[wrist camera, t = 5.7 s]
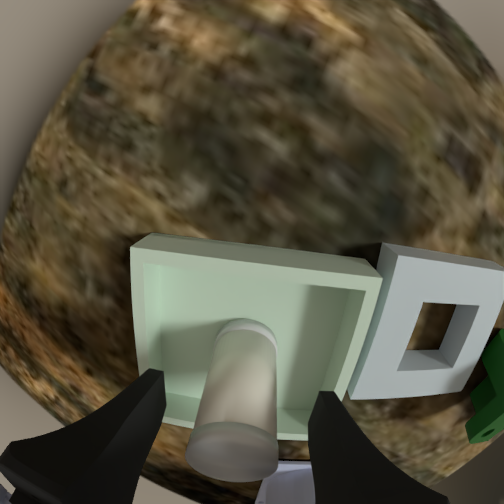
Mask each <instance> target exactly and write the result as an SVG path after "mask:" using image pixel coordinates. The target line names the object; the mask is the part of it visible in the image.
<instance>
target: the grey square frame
mask: <svg viewBox="0 0 504 504" xmlns="http://www.w3.org/2000/svg"><path fill="white" fill-rule="evenodd" d="M376 271H377V272H378V273H379V274H380V275H381V277H382V278H383V280H382V284H381V287H380V291H379V295H378V298H377V302H376V305H375V309H374V312H373V315H372V318H371V322H370V325H369V328H368V331H367V334H366V337H365V340H364V343H363V346H362V349H361V352H360V355H359V357H358V360H357V363H356V366H355V368H354V371H353V374H352V376H351V379H350V381H349V384H348V387H347V390H348V393H349V396H350V399H386V398H403V397H416V396H427V395H436V394H445V393H452V392H459V391H462V389H463V387H464V386H465V384H466V382H467V380H468V378H469V377H470V375H471V373H472V371H473V369H474V367H475V365H476V363H477V361H478V359H479V357H480V355H481V353H482V351H483V349H484V347H485V345H486V342H487V340H488V338H489V336H490V333H491V331H492V329H493V326H494V324H495V322H496V319H497V317H498V314H499V311H500V309H501V306H502V303H503V301H504V267H502V266H500V265H498V264H497V263H495V262H493V261H489V260H483V259H478V258H472V257H467V256H461V255H455V254H449V253H443V252H438V251H432V250H425V249H419V248H413V247H407V246H401V245H394V244H388V243H382V245H381V250H380V254H379V259H378V263H377V267H376ZM423 302H432V303H446V304H457V305H456V308H455V311H454V313H453V316H452V319H451V321H450V324H449V326H448V329H447V331H446V334H445V336H444V339H443V341H442V343H441V346H440V348H439V350H406V347H407V345H408V342H409V340H410V337H411V335H412V332H413V329H414V327H415V324H416V321H417V318H418V315H419V313H420V310H421V307H422V304H423Z"/></svg>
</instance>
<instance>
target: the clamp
mask: <svg viewBox="0 0 504 504" xmlns="http://www.w3.org/2000/svg"><path fill="white" fill-rule="evenodd" d="M481 357H482V361H483V364H484V366H485V368H486V370H487V373H488V376H487V377H486V378H485V379H484V380H483V381H482V382H481V383H480V384H479V385H478V386H477V387H476V388H475V389H474V390H473V391H472V392H471V394H470V397H471V400H472V403H473V406H474V409H475V412H476V415H475V416H473V417H472V418H471V419H470V420H469V421H468V422H467V423H466V425H465V427H466V431H467V435H468V439H469V443H471V444H473V443H479V442H484V441H488V440H489V439H491V438H492V437H493V436H494V435H496V434H497V433H498V432H500V431H501V430H503V429H504V329H501V330H500V331H499V332H498V334H497V335H496V336H495V337H494V339H493V340H492V341H491V342H490V344H489V345H488V346H487V347H486V348H485V349H484V351H483V352H482V354H481Z"/></svg>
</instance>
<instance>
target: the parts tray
mask: <svg viewBox="0 0 504 504" xmlns="http://www.w3.org/2000/svg"><path fill="white" fill-rule="evenodd" d="M130 266H131V292H132V308H133V321H134V333H135V343H136V352H137V361H138V368H139V376H141V375H142V374H143V373H144V372H145V371H146V370H147V369H149V368H152V369H156V370H161V371H164V380H165V392H166V403H167V406H166V409H165V413H164V417H163V420H162V422H165V423H169V424H173V425H178V426H183V427H188V428H194V424H195V420H196V416H197V412H198V408H199V405H200V401H201V397H202V393H203V389H204V385H205V382H206V378H207V374H208V370H209V366H210V362H211V359H212V355H213V347H214V343H215V340H216V336H217V334H218V332H219V330H220V329H221V328H222V327H223V326H224V325H226V324H227V323H229V322H232V321H235V320H240V319H250V320H255V321H258V322H260V323H263V324H264V325H266V326H267V327H269V328H270V329H271V330H272V332H273V333H274V335H275V337H276V340H277V360H276V364H277V439H284V440H308V421H309V418H310V415H311V413H312V410H313V407H314V404H315V402H316V399H317V396H318V393H319V391H334V392H335V393H336V395H337V396H338V398H339V399H340V401H342V399H343V396H344V394H345V392H346V389H347V387H348V384H349V381H350V379H351V376H352V374H353V371H354V368H355V366H356V363H357V360H358V357H359V355H360V352H361V349H362V346H363V343H364V340H365V337H366V334H367V331H368V328H369V325H370V322H371V318H372V315H373V312H374V309H375V305H376V302H377V298H378V295H379V291H380V287H381V284H382V280H383V278H382V277H381V275H380V274H379V273H378V272H377V271H376V270H375V269H374V268H373V267H372V266H371V265H370V264H369V262H368V261H367V260H366V259H362V258H355V257H347V256H339V255H331V254H324V253H316V252H308V251H300V250H292V249H284V248H276V247H268V246H260V245H252V244H244V243H236V242H228V241H219V240H211V239H203V238H194V237H186V236H178V235H169V234H161V233H151V234H149V235H147V236H146V237H144V238H143V239H141V240H140V241H138V242H137V243H135V244H134V245H132V246H131V247H130Z"/></svg>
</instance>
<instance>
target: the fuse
mask: <svg viewBox="0 0 504 504" xmlns="http://www.w3.org/2000/svg"><path fill="white" fill-rule="evenodd" d="M276 360H277V340H276V337H275V335H274V333H273V332H272V330H271V329H270V328H269V327H267V326H266V325H264V324H263V323H260V322H258V321H255V320H250V319H240V320H235V321H232V322H229V323H227V324H226V325H224V326H223V327H222V328H221V329H220V330H219V332H218V334H217V336H216V340H215V343H214V347H213V355H212V359H211V362H210V366H209V370H208V374H207V378H206V382H205V385H204V389H203V393H202V397H201V401H200V405H199V408H198V412H197V416H196V420H195V424H194V428H193V431H192V433H191V434H190V438H189V442H188V445H187V449H186V453H185V458H186V461H187V463H188V464H189V465H190V466H191V467H192V468H193V469H195V470H196V471H198V472H199V473H201V474H203V475H206V476H208V477H211V478H214V479H218V480H223V481H229V482H251V481H257V480H261V479H264V478H267V477H269V476H271V475H272V474H273V473H275V472H276V470H277V469H278V443H277V364H276Z"/></svg>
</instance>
